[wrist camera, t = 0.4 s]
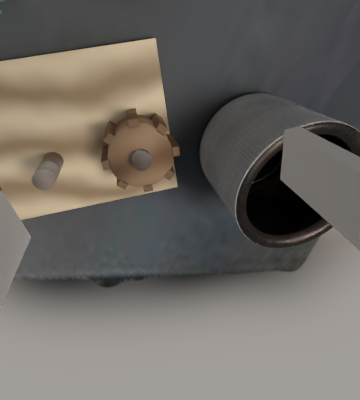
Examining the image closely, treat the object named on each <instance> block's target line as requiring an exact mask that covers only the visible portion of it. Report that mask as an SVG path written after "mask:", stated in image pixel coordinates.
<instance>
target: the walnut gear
mask: <svg viewBox="0 0 360 400" xmlns="http://www.w3.org/2000/svg"><path fill="white" fill-rule="evenodd" d="M126 112H127V117H125V118H123V119H122V120H120V121H119V122H118V123H117V124H114V123H113V122H111V121H109V123H108V125H107V126H106V128H105V133H104V140H103V141H104V142H105V143H107V144H109V145H108V146H104V147H103V149H102V156H101V164H102V167H103V170H109V169H111V171H112V173H113V174H114V175H115V176H116V177H117V186H118V187H120V188H122V189H124V190H125V189H126V187H127V186H128V185H130V186H135V187H143V189H144V192H149V191H153V187H152V185H153V184H156V183H158V182H159V181H161V180H162V179H163V178H164V177H165V178H166V179H168V180H170V179H171V178H172V177H173V175H174V174H175V172H174V170H173V167H172V164H173V157H174V156H179V155H180V151H179V146H178V144H177V142H176V140H175V138H174V137H173V135H172V134H168V135H166V132H167V130H168V128H167V126H166V124H165V122H164V120H163V118H162V117H160V116H159V115H158V114H156V113H154V115H153V116H152V118H150V117H148V116H144V115H137V112H136V108H134V109H128V110H126ZM136 150H144V153H143V152H142V151H141V153H137V154H135V155H134V156H133V158H132V154H133V153H134V152H135V151H136ZM138 152H139V151H138ZM142 153H143V154H144V155H143V154H142ZM139 154H140V155H139ZM146 154H147V155H146ZM138 155H139V156H141V155H143V156H146V157H144V158H143V157H142V156H141V157H140V159H139V156H138ZM134 157H135V158H134ZM149 157H150V158H149ZM145 158H146V160H145ZM147 158H148V159H147ZM134 159H135V160H134ZM136 159H137V160H136ZM151 159H152V160H151ZM138 160H139V161H138ZM141 160H142V161H144V163H143V162H142V161H141ZM134 161H135V162H134ZM136 161H137V162H139V163H137V162H136ZM146 162H148V163H146ZM149 162H152V164H151V163H149ZM135 163H137V165H140V164H141V165H140V166H138V168H137V165H136V164H135ZM144 164H145V165H144ZM149 164H151V166H149ZM133 165H134V166H133ZM135 165H136V166H135ZM147 165H148V166H147ZM145 166H147V167H148V168H147V167H145ZM144 167H145V168H147V170H144V169H145V168H144ZM136 168H137V169H136ZM140 168H141V169H142V168H144V169H143V170H141V169H140ZM138 169H139V170H138Z"/></svg>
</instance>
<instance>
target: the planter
mask: <svg viewBox="0 0 360 400" xmlns="http://www.w3.org/2000/svg"><path fill="white" fill-rule="evenodd" d="M299 126H300V127H302V128H304V129H306V130H308V131H310V132H312V133H314V134H316V135H318V136H320V137H321V138H323V139H325V140H327V141H329V142H331V143H333V144H335V145H337V146H339V147H341V148H343V149H345V150H347V151H349V152H351V153H353V154H355V155H357V156H359V157H360V132H359V131H358V130H357V129H355V128H354V127H352V126H350V125H348V124H345V123H343V122H340V121H338V120H335V119H333V118H330V117H328V116H325V115H322V114H320V113H317V112H315V111H313V110H310V109H308V108H305V107H303V106H300V105H298V104H296V103H293V102H291V101H288V100H286V99H284V98H281V97H278V96H276V95H272V94H266V93H252V94H247V95H243V96H241V97H238V98H236V99H234V100H232V101H230V102H229V103H227V104H226V105H225V106H223V107H222V108H221V109H220V110H219V111H218V112H217V113H216V114H215V115H214V116H213V118H212V119H211V121H210V122H209V124H208V125H207V127H206V129H205V131H204V134H203V136H202V140H201V144H200V162H201V166H202V169H203V172H204V174H205V176H206V178H207V179H208V181H209V182H210V184H211V185H212V187H213V188H214V190H215V191H216V193H217V194H218V196H219V197H220V199H221V200H222V202H223V203H224V205H225V206H226V208H227V209H228V211H229V212H230V214H231V215H232V217H233V218H234V220H235V222H236V223H237V225H238V226H239V228H240V229H241V231H242V232H243V234H244V235H245V236H246V237H247V238H248V239H250V240H251V241H253V242H254V243H256V244H259V245H261V246H265V247H270V248H286V247H292V246H296V245H300V244H303V243H306V242H308V241H310V240H313V239H315V238H317V237H319V236H320V235H322V234H324V233H325V232H327V231H328V230H329V229H331V228H332V227H333V226H332V225H331V224H330V223H328V222H327V221H326V220H325V219H324V218H323V217H322V216H321V215H320V214H318V213H317V212H316V211H315V210H314V209H313V208H312V207H311V206H310V205H308V204H307V203H306V202H305V201H304V200H303V199H302V198H301V197H299V196H298V195H297V194H296V193H295V192H294V191H293V190H292V189H291V188H289V187H288V186H287V185H286V184H285V183H284V182H283V181H282V180H280V175H281V164H282V154H283V143H284V132H285V129H290V128H294V127H299Z"/></svg>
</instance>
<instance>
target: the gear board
mask: <svg viewBox="0 0 360 400" xmlns="http://www.w3.org/2000/svg"><path fill="white" fill-rule="evenodd" d="M134 108H136V112H137V115H144V116H148V117H150V118H152V116H153V115H154V113H156V114H158V115H159V116H160V117H162V118H163V120H164V122H165V124H166V126H167V128H168V130H167V132H166V135H168V134H170V132H169V125H168V118H167V112H166V105H165V98H164V92H163V85H162V78H161V71H160V65H159V58H158V51H157V45H156V38H151V39H144V40H138V41H131V42H124V43H118V44H111V45H104V46H98V47H91V48H84V49H78V50H71V51H65V52H58V53H51V54H45V55H38V56H31V57H25V58H18V59H11V60H5V61H0V187H1V189H2V191H3V192H4V194H5V196H6V197H7V199H8V201H9V202H10V204H11V206H12V207H13V209H14V210H15V212H16V214H17V215H18V217H19V218H20V220H23V219H28V218H32V217H37V216H42V215H47V214H51V213H56V212H61V211H66V210H70V209H75V208H80V207H85V206H89V205H94V204H99V203H104V202H108V201H113V200H118V199H122V198H127V197H132V196H137V195H141V194H146V193H151V192H156V191H160V190H165V189H170V188H175V187H178V186H177V179H176V172H175V166H174V159H173V164H172V167H173V170H174V172H175V174H174V175H173V177H172V178H171V179H170V180H168V179H166V178H165V177H164V178H163V179H162V180H161V181H159V182H158V183H156V184H153V185H152V187H153V191H149V192H144V189H143V187H135V186H130V185H128V186H127V187H126V189H125V190H124V189H122V188H120V187H118V186H117V177H116V176H115V175H114V174H113V173H112V171H111V169H109V170H103V167H102V164H101V156H102V149H103V147H104V146H108V145H109V144H107V143H105V142H104V141H103V140H104V133H105V128H106V126H107V125H108V123H109V121H111V122H113V123H114V124H117V123H118V122H119V121H120V120H122V119H123V118H125V117H127V112H126V110H128V109H134ZM138 151H139V152H138ZM141 151H142V152H143V153H144V150H136V151H135V152H134V153H133V154H132V158H133V156H134V155H135V154H137V153H141ZM143 153H142V154H143ZM139 155H140V154H139ZM139 155H138V156H139ZM143 155H144V154H143ZM143 155H141V156H142V157H143V158H144V157H146V156H143ZM146 155H147V154H146ZM141 156H139V159H140V157H141ZM134 158H135V157H134ZM149 158H150V157H149ZM147 159H148V158H147ZM134 160H135V159H134ZM136 160H137V159H136ZM145 160H146V158H145ZM151 160H152V159H151ZM138 161H139V160H138ZM141 161H142V160H141ZM134 162H135V161H134ZM136 162H137V161H136ZM142 162H143V163H144V161H142ZM137 163H139V162H137ZM137 163H135V164H136V165H137ZM146 163H148V162H146ZM149 163H151V164H152V162H149ZM151 164H149V166H151ZM136 165H135V166H136ZM140 165H141V164H140ZM140 165H137V168H138V166H140ZM144 165H145V164H144ZM133 166H134V165H133ZM147 166H148V165H147ZM147 166H145V167H147ZM145 167H144V168H145ZM137 168H136V169H137ZM144 168H142V169H141V168H140V169H141V170H143V169H144ZM147 168H148V167H147ZM147 168H145V169H144V170H147ZM138 170H139V169H138Z"/></svg>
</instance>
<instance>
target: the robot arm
mask: <svg viewBox="0 0 360 400" xmlns="http://www.w3.org/2000/svg"><path fill="white" fill-rule="evenodd" d="M280 180H282V181H283V182H284V183H285V184H286V185H287V186H288V187H289V188H291V189H292V190H293V191H294V192H295V193H296V194H297V195H298V196H299V197H301V198H302V199H303V200H304V201H305V202H306V203H307V204H308V205H310V206H311V207H312V208H313V209H314V210H315V211H316V212H317V213H318V214H320V215H321V216H322V217H323V218H324V219H325V220H326V221H327V222H328V223H330V224H331V225H332V226H333V227H334V228H335V229H336V230H337V231H339V232H340V233H341V234H342V235H343V236H344V237H345V238H346V239H347V240H349V241H350V242H351V243H352V244H353V245H354V246H355V247H356V248H357V249H359V250H360V157H359V156H357V155H355V154H353V153H351V152H349V151H347V150H345V149H343V148H341V147H339V146H337V145H335V144H333V143H331V142H329V141H327V140H325V139H323V138H321V137H320V136H318V135H316V134H314V133H312V132H310V131H308V130H306V129H304V128H302V127H300V126H299V127H294V128H290V129H285V132H284V143H283V154H282V164H281V175H280ZM30 238H31V236H30V234H29V233H28V231H27V230H26V228H25V226H24V225H23V223H22V222H21V220H20V218H19V217H18V215H17V214H16V212H15V210H14V209H13V207H12V206H11V204H10V202H9V201H8V199H7V198H6V196H5V194H4V193H3V191H2V190H0V308H1V306H2V303H3V302H4V299H5V297H6V294H7V292H8V290H9V287H10V285H11V283H12V280H13V278H14V276H15V273H16V271H17V269H18V266H19V264H20V262H21V259H22V257H23V255H24V252H25V250H26V248H27V245H28V243H29V240H30Z"/></svg>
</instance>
